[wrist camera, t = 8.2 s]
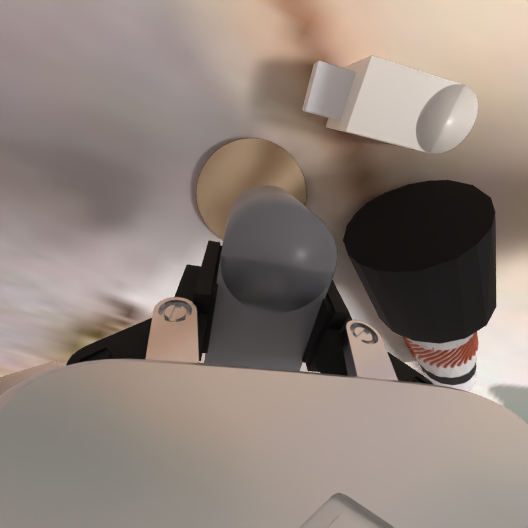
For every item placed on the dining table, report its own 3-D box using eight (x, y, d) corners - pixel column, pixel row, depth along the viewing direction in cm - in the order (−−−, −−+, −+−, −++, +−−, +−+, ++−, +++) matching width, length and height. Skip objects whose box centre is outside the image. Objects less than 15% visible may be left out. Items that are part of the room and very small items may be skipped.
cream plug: (439, 97, 20) (491, 93, 16) (414, 150, 22) (454, 159, 18) (310, 57, 18) (330, 42, 14) (295, 119, 20) (308, 121, 16)
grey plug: (233, 177, 12) (230, 194, 8) (312, 194, 13) (353, 218, 8) (206, 353, 16) (193, 431, 12) (266, 359, 17) (276, 435, 12)
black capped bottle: (412, 352, 44) (417, 416, 38) (348, 202, 25) (337, 280, 19) (487, 355, 38) (507, 431, 32) (476, 164, 20) (517, 258, 14)
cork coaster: (319, 153, 22) (321, 154, 21) (289, 252, 27) (290, 255, 26) (203, 125, 20) (201, 125, 20) (193, 236, 25) (192, 239, 25)
